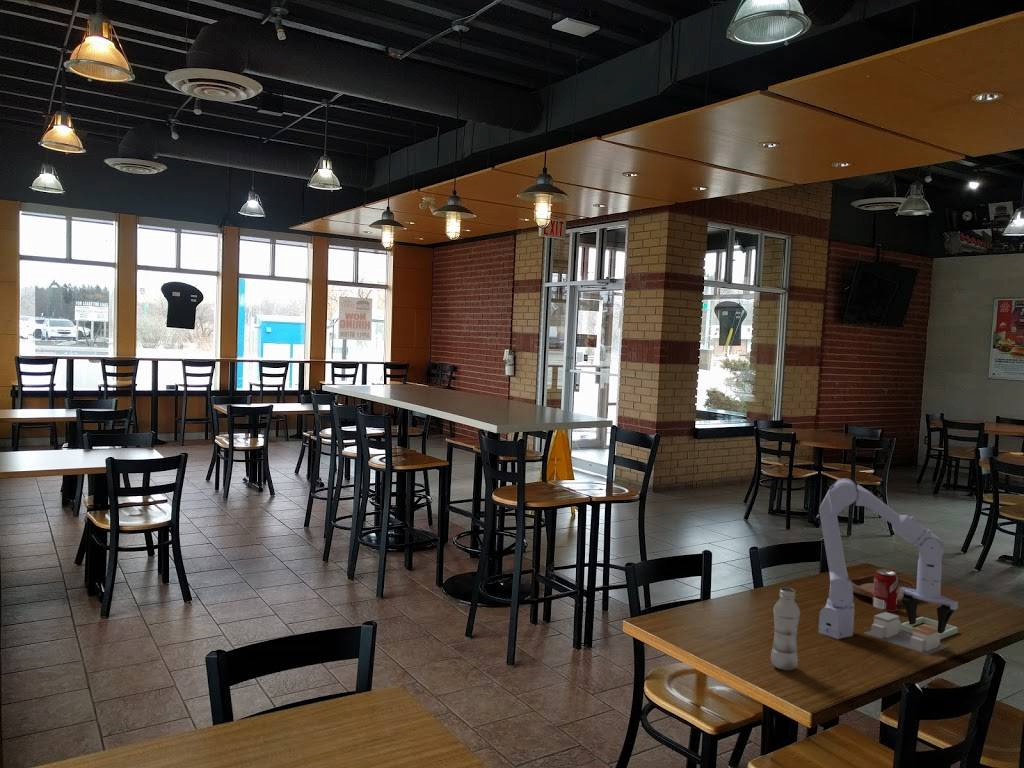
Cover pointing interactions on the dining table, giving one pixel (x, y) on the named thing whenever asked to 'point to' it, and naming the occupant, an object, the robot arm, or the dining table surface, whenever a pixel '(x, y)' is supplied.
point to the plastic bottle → (785, 631)
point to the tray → (949, 629)
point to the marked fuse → (927, 635)
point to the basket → (867, 586)
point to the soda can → (885, 590)
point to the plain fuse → (888, 623)
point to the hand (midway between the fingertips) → (926, 628)
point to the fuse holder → (903, 639)
